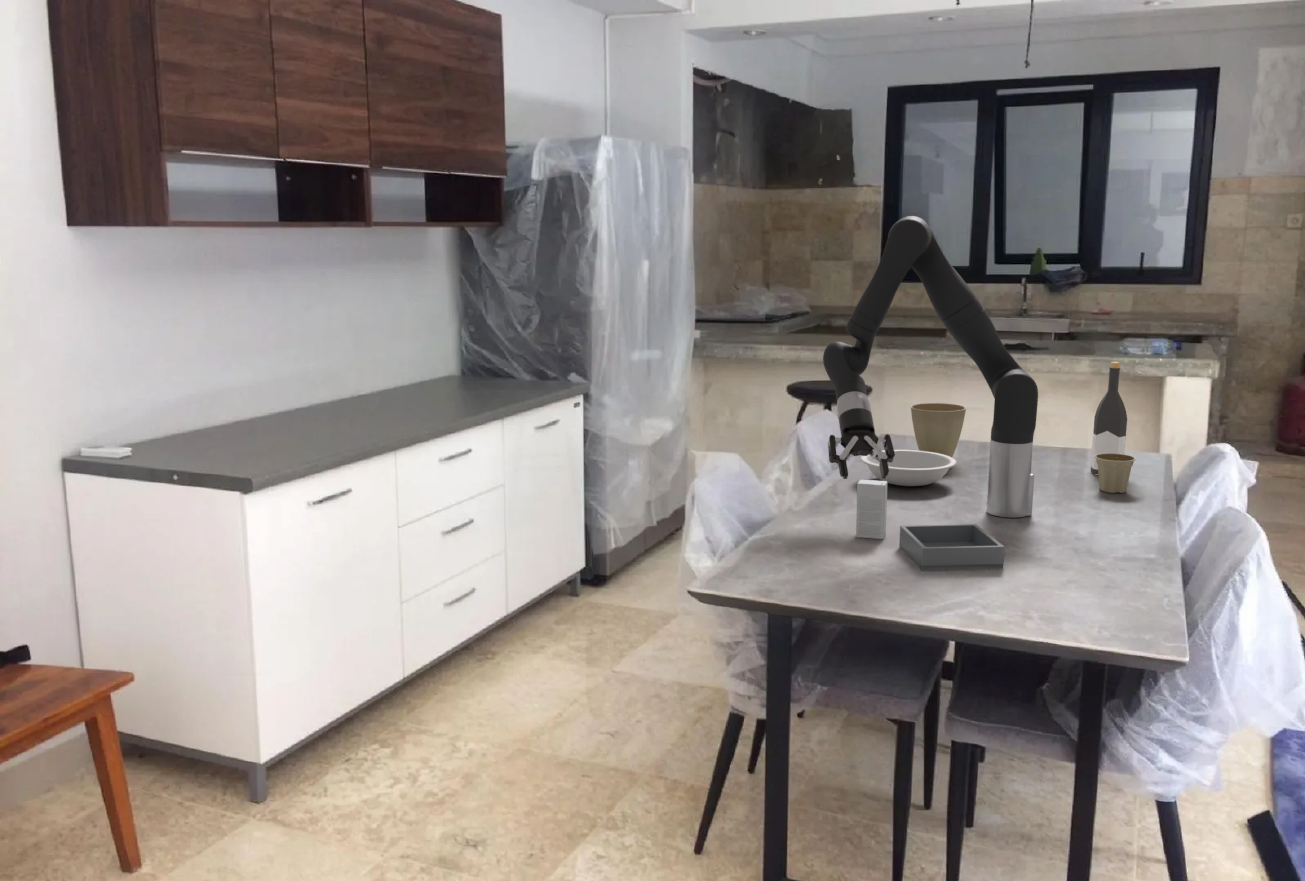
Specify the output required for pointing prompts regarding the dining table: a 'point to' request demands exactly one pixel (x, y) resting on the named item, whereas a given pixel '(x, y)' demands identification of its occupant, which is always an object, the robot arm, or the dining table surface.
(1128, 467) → the flower pot
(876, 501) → the skincare box
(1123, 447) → the wine bottle
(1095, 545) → the dining table surface
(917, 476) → the soup bowl
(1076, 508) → the dining table surface
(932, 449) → the plant pot
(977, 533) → the gray square tray
